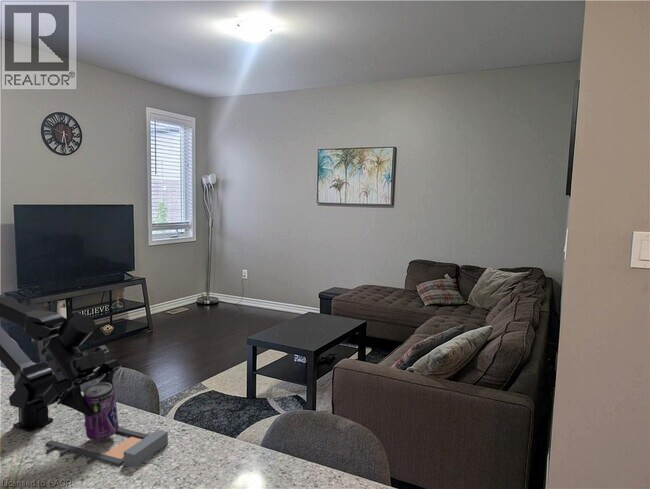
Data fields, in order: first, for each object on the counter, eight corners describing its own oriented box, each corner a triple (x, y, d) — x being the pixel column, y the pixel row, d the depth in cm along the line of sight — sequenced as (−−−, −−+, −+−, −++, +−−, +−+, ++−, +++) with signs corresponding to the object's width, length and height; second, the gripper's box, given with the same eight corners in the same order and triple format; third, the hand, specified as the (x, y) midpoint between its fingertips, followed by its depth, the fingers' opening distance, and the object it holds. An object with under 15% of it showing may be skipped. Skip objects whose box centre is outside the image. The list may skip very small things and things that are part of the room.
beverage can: (105, 444, 108) (100, 398, 105) (80, 440, 109) (74, 394, 107) (125, 427, 114) (120, 383, 112) (100, 423, 116) (95, 379, 113)
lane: (38, 449, 106) (37, 437, 106) (89, 422, 120) (89, 411, 119) (125, 474, 98) (125, 461, 97) (169, 442, 111) (169, 430, 111)
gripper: (50, 349, 101) (89, 406, 98) (115, 328, 118) (150, 376, 116) (25, 377, 104) (62, 434, 101) (92, 353, 122) (125, 401, 119)
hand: (103, 409), depth 109 cm, fingers closed on beverage can, 7 cm apart
